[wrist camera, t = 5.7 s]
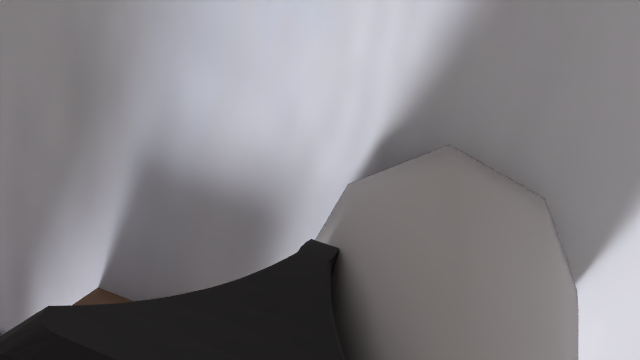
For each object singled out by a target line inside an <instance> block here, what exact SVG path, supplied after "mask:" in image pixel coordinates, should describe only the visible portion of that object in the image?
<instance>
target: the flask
mask: <svg viewBox="0 0 640 360" xmlns="http://www.w3.org/2000/svg"><path fill="white" fill-rule="evenodd" d="M315 240H316V241H319V242H322V243H325V244H328V245H331V246H334V247H337V248H339V249H340V250H339V253H338V256H337V259H336V262H335V265H334V269H333V272H332V275H331V298H332V306H333V313H334V319H335V324H336V328H337V332H338V336H339V340H340V344H341V347H342V350H343V354H344V357H345V359H346V360H578V297H577V289H576V286H575V283H574V280H573V277H572V274H571V271H570V269H569V266H568V263H567V260H566V257H565V254H564V252H563V249H562V246H561V243H560V240H559V237H558V234H557V232H556V229H555V226H554V223H553V220H552V217H551V215H550V212H549V209H548V206H547V203H546V200H545V199H544V198H542V197H541V196H539V195H537V194H535V193H533V192H532V191H530V190H528V189H526V188H525V187H523V186H521V185H519V184H517V183H516V182H514V181H512V180H510V179H509V178H507V177H505V176H503V175H501V174H500V173H498V172H496V171H494V170H493V169H491V168H489V167H487V166H485V165H484V164H482V163H480V162H478V161H477V160H475V159H473V158H471V157H469V156H468V155H466V154H464V153H462V152H461V151H459V150H457V149H455V148H453V147H452V146H450V145H447V146H445V147H442V148H439V149H437V150H434V151H432V152H429V153H427V154H424V155H422V156H419V157H416V158H414V159H411V160H409V161H406V162H404V163H401V164H398V165H396V166H393V167H391V168H388V169H386V170H383V171H381V172H378V173H375V174H373V175H370V176H368V177H365V178H363V179H360V180H358V181H355V182H352V183H350V184H348V186H347V187H346V189H345V191H344V192H343V194H342V196H341V197H340V199H339V201H338V202H337V204H336V206H335V207H334V209H333V211H332V212H331V214H330V216H329V217H328V219H327V221H326V222H325V224H324V226H323V228H322V229H321V231H320V233H319V234H318V236H317V238H316V239H315Z"/></svg>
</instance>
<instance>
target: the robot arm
mask: <svg viewBox="0 0 640 360" xmlns="http://www.w3.org/2000/svg"><path fill="white" fill-rule="evenodd" d="M339 250H340V249H339V248H337V247H334V246H331V245H328V244H325V243H322V242H319V241H316V240H313V239H311V240H309V241H307V242H306V243H305V244H304V245H303V246H301V248H300V249H299V251H298V252H297V253H295V254H293V255H292V256H290V257H288V258H286V259H284V260H282V261H280V262H278V263H276V264H274V265H272V266H270V267H267V268H265V269H263V270H260V271H258V272H256V273H253V274H251V275H249V276H246V277H243V278H241V279H238V280H235V281H232V282H229V283H225V284H222V285H218V286H215V287H212V288H208V289H204V290H199V291H194V292H190V293H185V294H180V295H175V296H171V297H165V298H158V299H151V300H144V301H135V302H125V303H114V304H97V305H72V306H48V307H46V308H44V309H43V310H41V311H39V312H38V313H36V314H35V315H33V316H31V317H30V318H28V319H27V320H25V321H24V322H22V323H21V324H19V325H17V326H16V327H14V328H13V329H11V330H10V331H8V332H6V333H5V334H3V335H2V336H0V360H346V359H345V357H344V354H343V350H342V347H341V344H340V340H339V336H338V332H337V328H336V324H335V319H334V313H333V306H332V298H331V275H332V272H333V269H334V265H335V262H336V259H337V256H338V253H339Z"/></svg>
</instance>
